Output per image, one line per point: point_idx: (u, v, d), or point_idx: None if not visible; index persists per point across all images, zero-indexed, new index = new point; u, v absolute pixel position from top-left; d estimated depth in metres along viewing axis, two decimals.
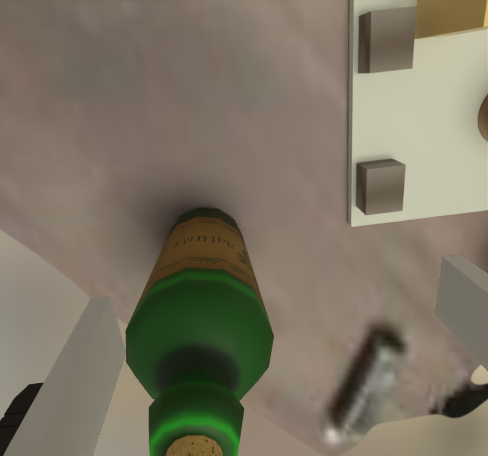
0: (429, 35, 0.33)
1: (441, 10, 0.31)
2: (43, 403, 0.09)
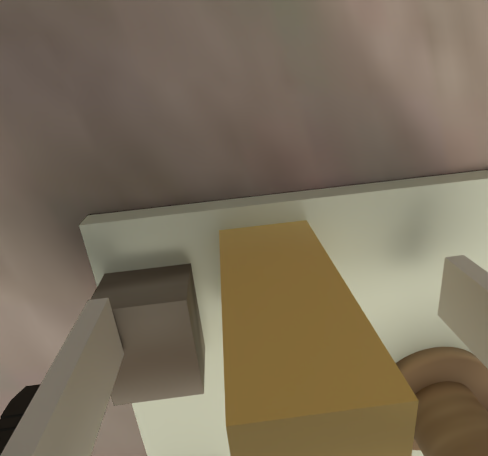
0: None
1: None
2: (39, 405, 0.09)
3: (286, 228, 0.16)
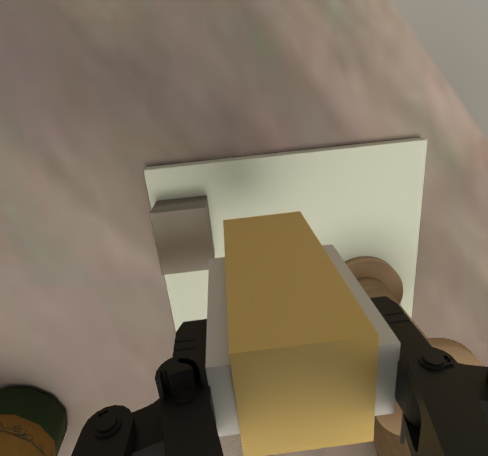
0: None
1: None
2: (216, 328, 0.12)
3: (282, 217, 0.18)
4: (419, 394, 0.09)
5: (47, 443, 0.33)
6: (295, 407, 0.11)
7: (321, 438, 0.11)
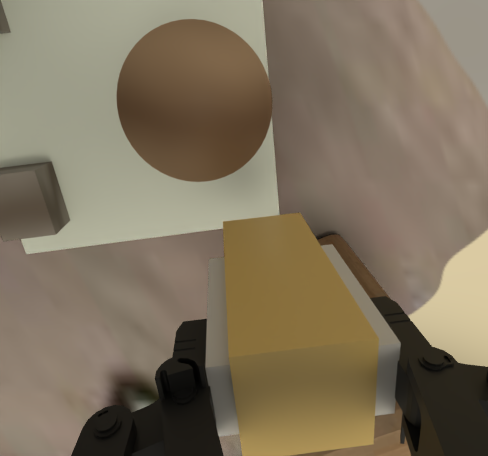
0: None
1: None
2: (216, 328, 0.12)
3: (281, 219, 0.18)
4: (419, 394, 0.09)
5: None
6: (295, 410, 0.11)
7: (320, 441, 0.11)
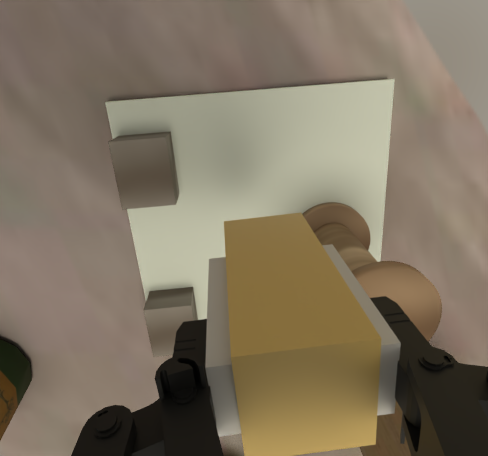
0: None
1: None
2: (216, 328, 0.12)
3: (283, 219, 0.18)
4: (419, 394, 0.09)
5: (7, 388, 0.33)
6: (297, 410, 0.10)
7: (323, 442, 0.11)
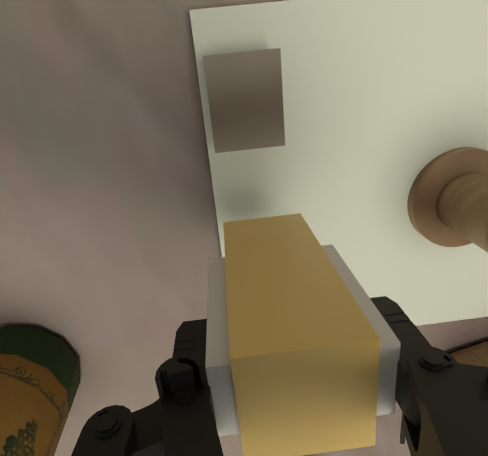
0: None
1: None
2: (216, 328, 0.12)
3: (282, 219, 0.18)
4: (419, 394, 0.09)
5: (58, 392, 0.26)
6: (296, 411, 0.10)
7: (321, 443, 0.11)
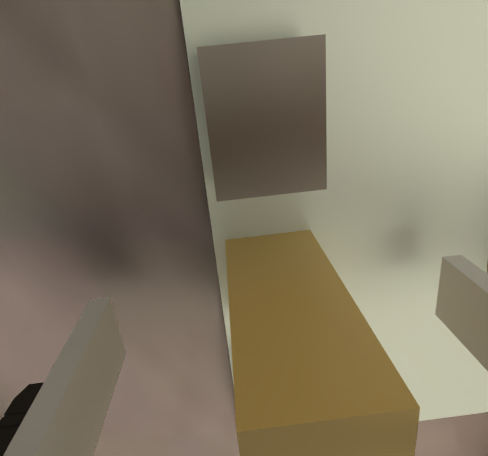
0: None
1: None
2: (43, 403, 0.09)
3: (290, 238, 0.17)
4: None
5: None
6: None
7: None
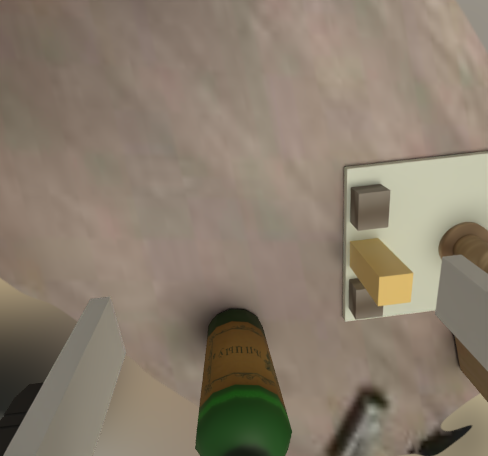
0: (356, 275, 0.51)
1: (360, 269, 0.48)
2: (43, 403, 0.09)
3: (372, 240, 0.51)
4: None
5: (265, 340, 0.53)
6: (392, 291, 0.43)
7: (397, 301, 0.44)
